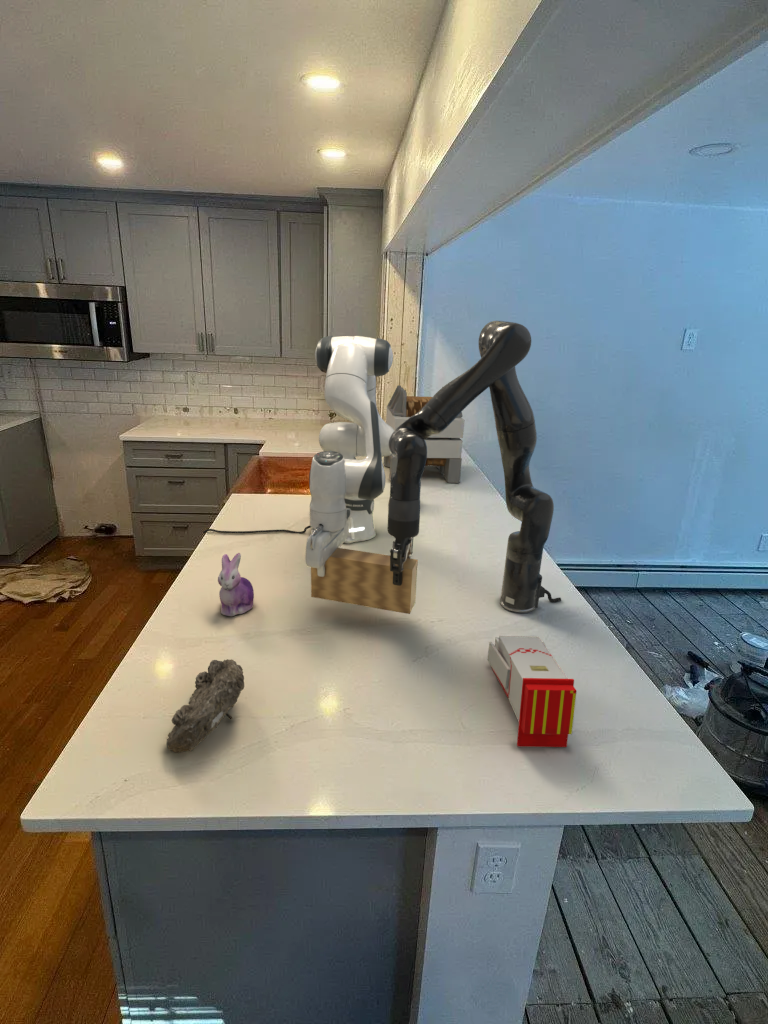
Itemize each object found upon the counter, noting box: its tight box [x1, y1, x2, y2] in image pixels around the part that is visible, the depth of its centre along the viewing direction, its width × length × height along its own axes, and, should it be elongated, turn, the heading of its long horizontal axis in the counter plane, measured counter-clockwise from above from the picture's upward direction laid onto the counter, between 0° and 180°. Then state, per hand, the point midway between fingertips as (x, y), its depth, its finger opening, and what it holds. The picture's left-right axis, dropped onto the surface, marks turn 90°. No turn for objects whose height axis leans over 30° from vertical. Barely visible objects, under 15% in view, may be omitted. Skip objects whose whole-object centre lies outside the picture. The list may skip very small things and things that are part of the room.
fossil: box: [166, 658, 245, 754], centre depth 106 cm, size 22×10×15 cm
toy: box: [486, 635, 577, 748], centre depth 115 cm, size 12×13×30 cm
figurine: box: [217, 552, 255, 617], centre depth 144 cm, size 9×10×15 cm
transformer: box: [382, 384, 465, 484], centre depth 268 cm, size 34×33×41 cm
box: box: [310, 547, 419, 615], centre depth 142 cm, size 26×6×12 cm, turn 74°
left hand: (327, 569), depth 144 cm, fingers closed on box, 6 cm apart
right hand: (400, 578), depth 139 cm, fingers closed on box, 6 cm apart
